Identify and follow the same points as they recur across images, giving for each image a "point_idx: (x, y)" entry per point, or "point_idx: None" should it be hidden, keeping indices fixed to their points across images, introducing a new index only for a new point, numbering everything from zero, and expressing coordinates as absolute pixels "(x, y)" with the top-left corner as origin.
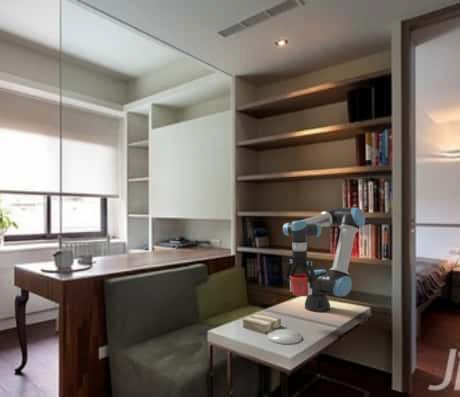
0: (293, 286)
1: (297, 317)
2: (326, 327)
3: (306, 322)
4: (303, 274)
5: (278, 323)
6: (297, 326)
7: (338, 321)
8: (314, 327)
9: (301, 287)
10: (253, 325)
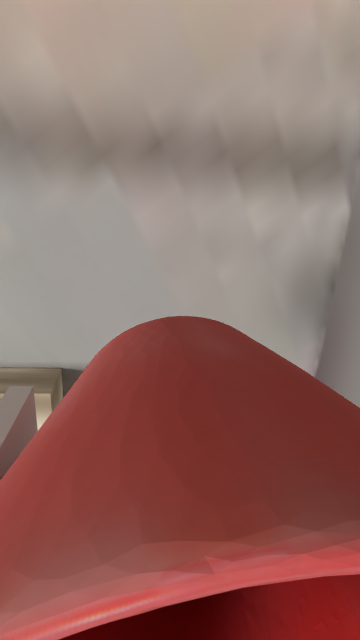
0: (126, 619)
1: (40, 145)
2: (296, 227)
3: (153, 215)
4: (210, 591)
5: (57, 401)
6: (143, 316)
7: (340, 43)
8: (234, 271)
9: (270, 598)
10: None
